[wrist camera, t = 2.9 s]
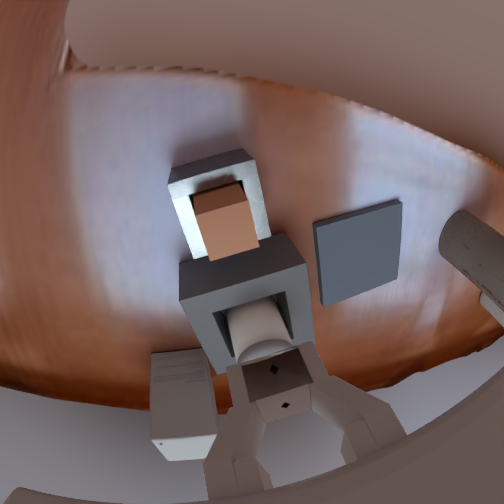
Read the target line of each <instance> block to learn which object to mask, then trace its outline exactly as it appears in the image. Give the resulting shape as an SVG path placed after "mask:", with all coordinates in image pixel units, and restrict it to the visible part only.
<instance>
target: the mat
mask: <svg viewBox="0 0 504 504" xmlns="http://www.w3.org/2000/svg"><path fill="white" fill-rule="evenodd" d="M401 228H402V202H400V201H399V200H394V201H390V202H387V203H383V204H380V205H376V206H373V207H369V208H366V209H362V210H359V211H355V212H351V213H348V214H344V215H341V216H337V217H334V218H331V219H327V220H324V221H320V222H317V223H313V232H314V241H315V250H316V259H317V269H318V279H319V290H320V302H321V304H322V305H323V307H325V306H328V305H331V304H334V303H336V302H339V301H342V300H345V299H347V298H350V297H353V296H355V295H358V294H360V293H363V292H366V291H368V290H371V289H373V288H376V287H378V286H381V285H383V284H386V283H388V282H391V281H393V280H395V279H397V276H398V266H399V256H400V243H401Z"/></svg>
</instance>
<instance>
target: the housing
mask: <svg viewBox="0 0 504 504" xmlns="http://www.w3.org/2000/svg"><path fill="white" fill-rule="evenodd" d="M258 242H259V246H260V247H257V248H254V249H250V250H247V251H244V252H240V253H237V254H234V255H230V256H227V257H224V258H220V259H217V260H213V261H210V259H209V256H208V255H207V256H203V257H200V258H197V259H191V260H188V261H185V262H181V263H179V302H180V304H181V306H182V308H183V310H184V312H185V314H186V316H187V318H188V320H189V322H190V324H191V326H192V328H193V330H194V332H195V334H196V336H197V338H198V340H199V342H200V344H201V345H202V347H203V349H204V351H205V353H206V355H207V357H208V358H209V360H210V362H211V364H212V366H213V368H214V369H215V371H216V373H217V375H218V374H222V373H226V367H227V366H230V365H234V364H237V362H236V357H235V353H234V348H233V344H232V339H231V335H230V330H229V326H228V321H227V318H225V319H224V318H223V316H222V313H221V311H220V310H224V309H227V308H230V307H234V306H237V305H241V304H244V303H247V302H251V301H254V300H257V299H260V298H264V297H267V296H270V295H273V294H276V295H277V299H278V303H276V306H277V308H278V310H279V313H280V315H281V318H282V320H283V322H284V325H285V327H286V329H287V332H288V334H289V336H290V339H291V341H292V343H293V346H295V345H296V346H297V345H299V344H302V343H305V342H308V341H311V342H313V344H314V345H315V335H314V324H313V315H312V305H311V296H310V287H309V279H308V271H307V263H306V261H305V260H304V258H303V257H302V256H301V254H300V253H299V251H298V250H297V248H296V247H295V245H294V244H293V242H292V241H291V240H290V238H289V237H288V235H287V234H286V232H282V233H279V234H275V235H272V236H271V237H267V238H264V239H261V240H258Z"/></svg>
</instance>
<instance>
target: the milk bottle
mask: <svg viewBox="0 0 504 504" xmlns="http://www.w3.org/2000/svg"><path fill="white" fill-rule="evenodd" d="M479 301H480V304H481V305H482V306H483V307H484V308H485V309H486V310H487V311H488V312H489V313H490V314H491V315H492V316H493V317H494V318H495V319H496V320H497V321H498V322H499V323H500V324H501V325H502V326H503V327H504V312H503V311H502V310H501V309H500V308H499V307H498V306H497V305H496V304H495V303H494V302H493V301H492V300H491V299H490V298H489V297H488V296H487V295H486V294H485V293H484V292H483V291H482V292H481V295H480V298H479Z"/></svg>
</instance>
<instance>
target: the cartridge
mask: <svg viewBox="0 0 504 504" xmlns="http://www.w3.org/2000/svg"><path fill="white" fill-rule="evenodd" d="M225 311H226V316H227V321H228V326H229V330H230V335H231V339H232V344H233V348H234V353H235V357H236V362H237V364H238V363H242V362H246V361H249V360H253V359H257V358H260V357H264V356H268V355H269V354H272V353H275V352H278V351H281V350H284V349H287V348H290V347H293V343H292V341H291V339H290V336H289V334H288V332H287V329H286V327H285V325H284V322H283V320H282V318H281V315H280V313H279V310H278V308H277V306H276V303H275V301H274V299H273V296H272V295H270V296H267V297H264V298H260V299H257V300H254V301H251V302H247V303H244V304H241V305H237V306H234V307H230V308H227V309H225Z"/></svg>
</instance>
